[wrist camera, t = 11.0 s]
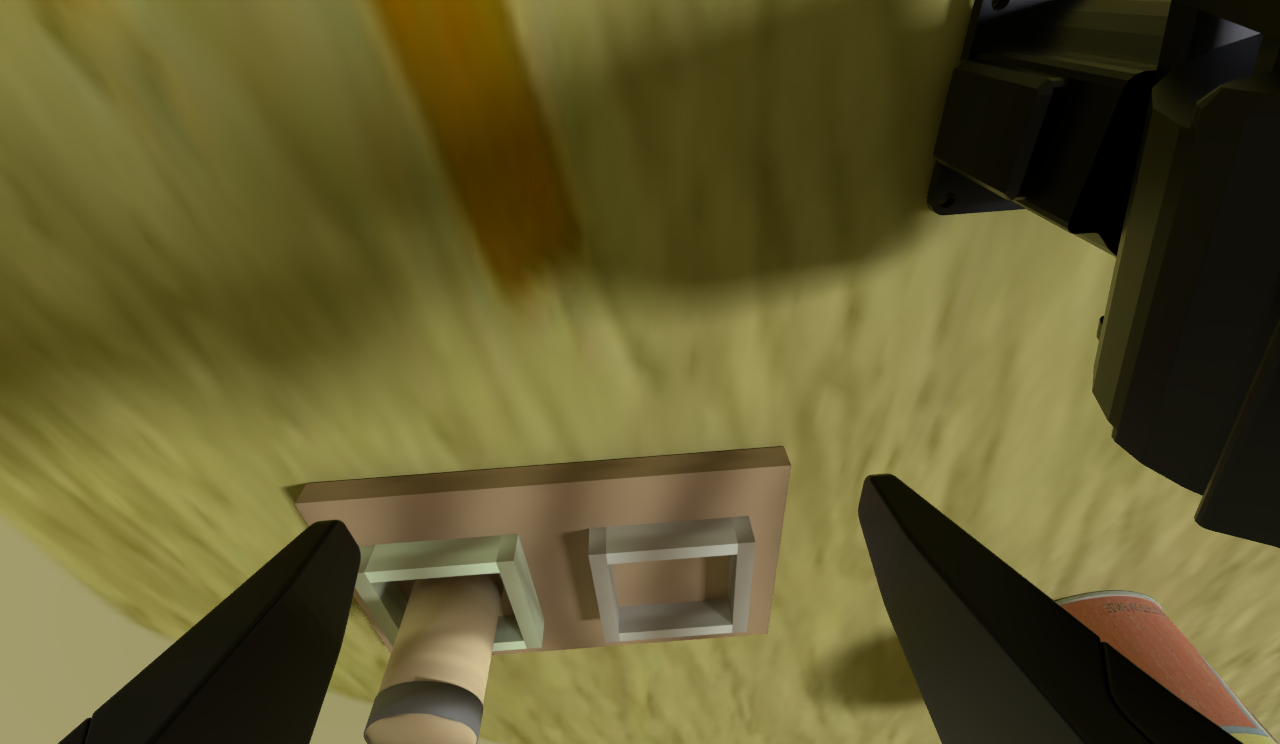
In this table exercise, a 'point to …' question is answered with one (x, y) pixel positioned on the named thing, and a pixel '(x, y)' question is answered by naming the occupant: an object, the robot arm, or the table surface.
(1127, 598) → the canned food
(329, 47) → the table surface
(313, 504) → the board
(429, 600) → the cylinder
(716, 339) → the table surface
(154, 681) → the robot arm
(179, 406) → the table surface
